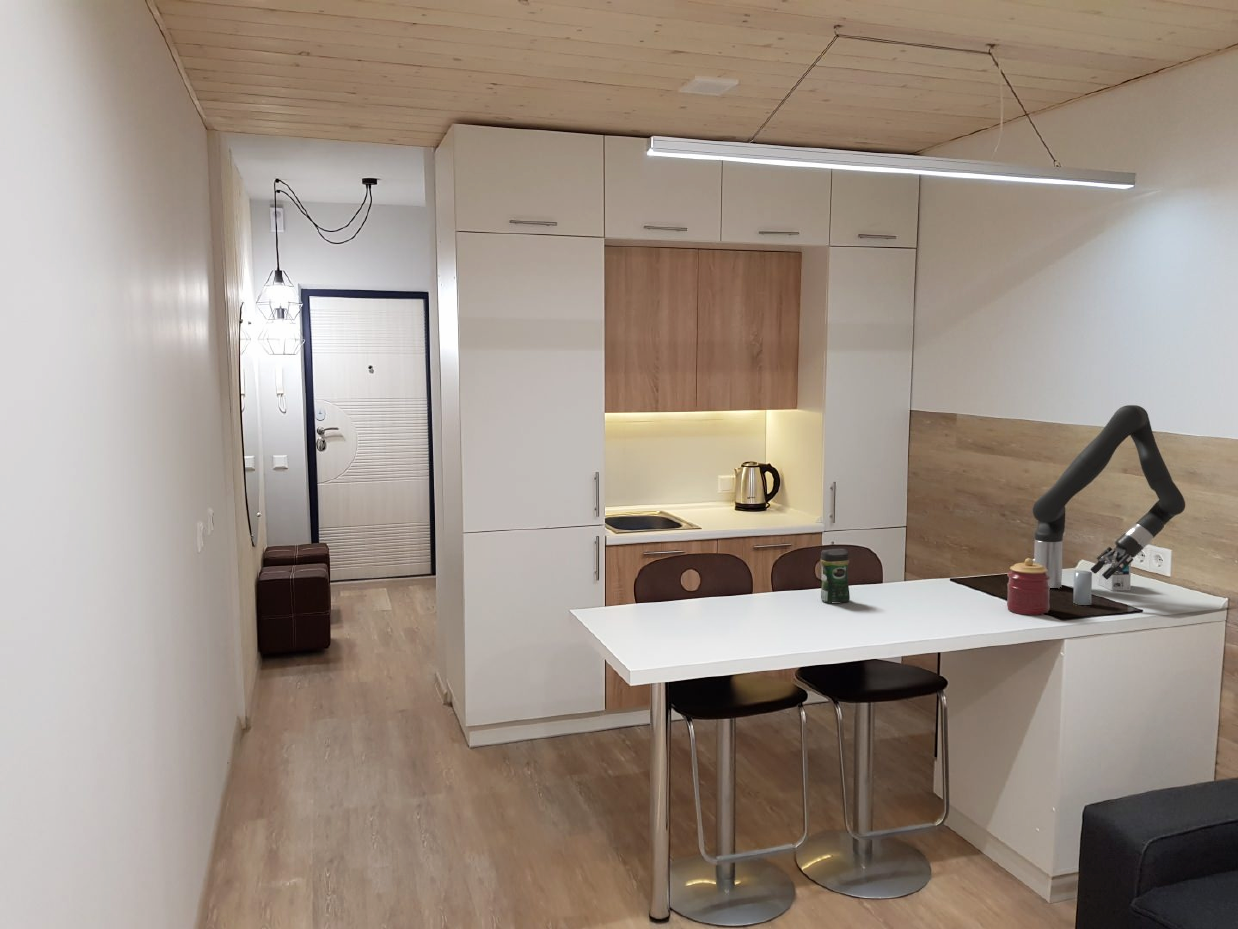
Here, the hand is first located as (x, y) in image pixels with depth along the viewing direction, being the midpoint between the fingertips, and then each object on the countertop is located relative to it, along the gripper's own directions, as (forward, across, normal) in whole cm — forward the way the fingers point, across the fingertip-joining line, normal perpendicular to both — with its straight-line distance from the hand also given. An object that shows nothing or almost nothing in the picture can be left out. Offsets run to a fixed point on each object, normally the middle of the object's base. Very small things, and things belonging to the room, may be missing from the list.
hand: (1098, 574), depth 313 cm
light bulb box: (-4, -23, +19) cm, 30 cm away
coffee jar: (+68, -9, -54) cm, 87 cm away
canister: (+26, +7, -11) cm, 29 cm away
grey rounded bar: (+11, 0, +4) cm, 11 cm away
